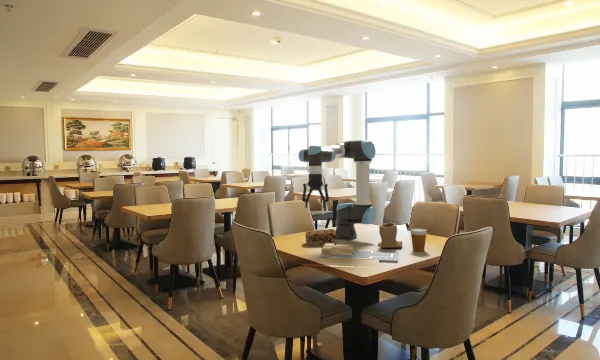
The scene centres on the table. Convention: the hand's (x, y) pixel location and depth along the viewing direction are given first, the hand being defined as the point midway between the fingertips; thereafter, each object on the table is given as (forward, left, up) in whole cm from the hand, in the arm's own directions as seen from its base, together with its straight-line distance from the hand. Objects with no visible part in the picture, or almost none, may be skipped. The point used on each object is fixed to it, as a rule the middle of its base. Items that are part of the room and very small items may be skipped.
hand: (315, 213), depth 243 cm
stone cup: (-24, +41, -23) cm, 53 cm away
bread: (-24, -1, -24) cm, 33 cm away
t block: (0, +13, -22) cm, 25 cm away
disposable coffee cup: (-20, +57, -23) cm, 65 cm away
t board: (0, +24, -23) cm, 33 cm away
